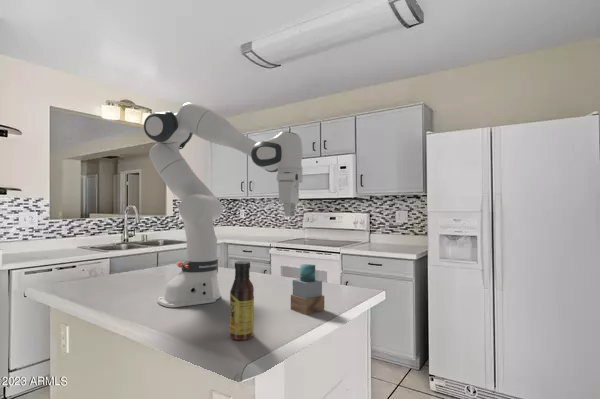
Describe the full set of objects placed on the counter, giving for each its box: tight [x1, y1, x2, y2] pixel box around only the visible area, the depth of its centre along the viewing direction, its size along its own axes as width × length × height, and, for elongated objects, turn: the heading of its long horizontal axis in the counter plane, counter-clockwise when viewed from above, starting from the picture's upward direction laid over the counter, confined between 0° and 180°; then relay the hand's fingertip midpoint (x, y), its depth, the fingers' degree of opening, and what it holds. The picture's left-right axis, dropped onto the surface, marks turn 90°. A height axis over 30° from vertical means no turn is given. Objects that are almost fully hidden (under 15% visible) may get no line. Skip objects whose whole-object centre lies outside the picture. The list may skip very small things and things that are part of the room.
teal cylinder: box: [299, 263, 316, 282], centre depth 119 cm, size 5×5×5 cm
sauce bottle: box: [229, 260, 255, 341], centre depth 94 cm, size 7×6×20 cm
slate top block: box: [292, 278, 323, 299], centre depth 119 cm, size 7×7×5 cm
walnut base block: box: [290, 294, 325, 316], centre depth 119 cm, size 8×8×5 cm
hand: (289, 216), depth 127 cm, fingers open, 8 cm apart
